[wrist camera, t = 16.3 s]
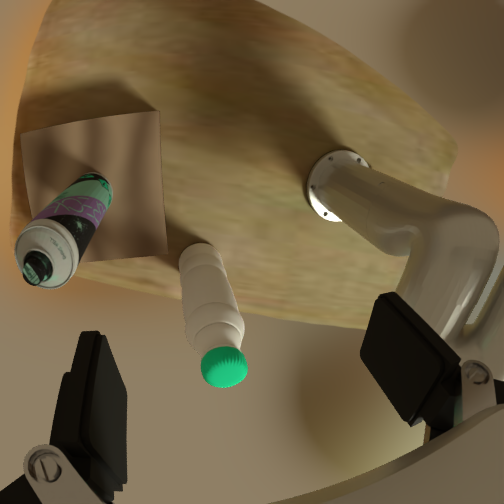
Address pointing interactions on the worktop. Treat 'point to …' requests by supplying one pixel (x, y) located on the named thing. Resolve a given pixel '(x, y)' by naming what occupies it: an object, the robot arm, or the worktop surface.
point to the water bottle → (212, 316)
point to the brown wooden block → (114, 169)
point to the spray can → (63, 232)
